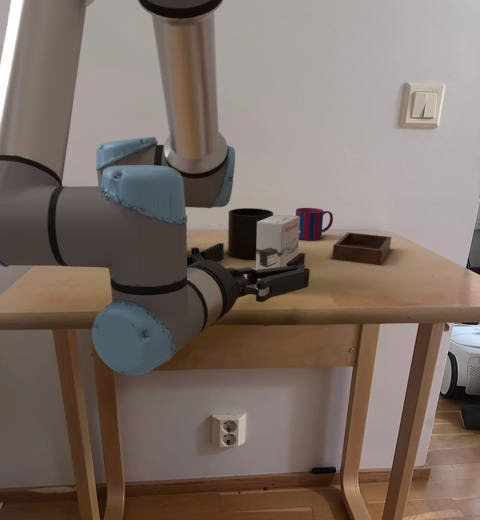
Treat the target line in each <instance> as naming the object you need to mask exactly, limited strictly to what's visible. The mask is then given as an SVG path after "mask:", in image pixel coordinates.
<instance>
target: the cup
mask: <svg viewBox="0 0 480 520" xmlns="http://www.w3.org/2000/svg"><path fill="white" fill-rule="evenodd" d="M326 214H328V215H329V222H328V223H327V226H326V227H325V228H323V222H324V215H326ZM295 216H299V217H300V224H299V239H298V240H302V241H319V240H321V239H322V233H325V232H327V231H328V230H330V228H331V227H332V225H333V221H334V216H333V213H332V212H331V211H329V210H323V209H321V208H316V207H299V208H296V209H295Z"/></svg>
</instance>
